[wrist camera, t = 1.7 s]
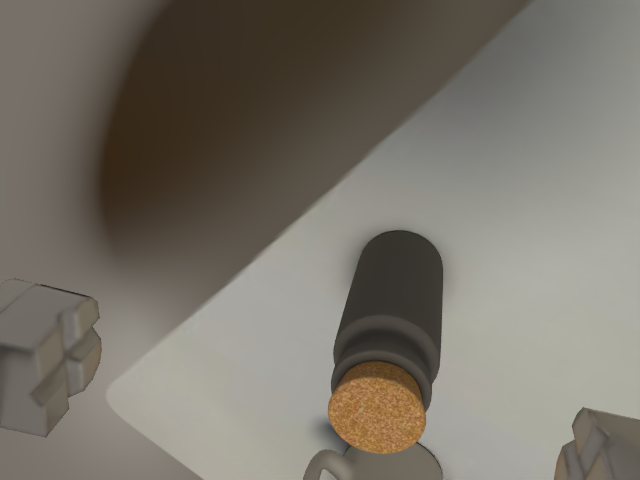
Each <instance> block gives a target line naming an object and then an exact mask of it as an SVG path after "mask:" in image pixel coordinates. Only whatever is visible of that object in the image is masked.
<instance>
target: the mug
mask: <svg viewBox="0 0 640 480" xmlns="http://www.w3.org/2000/svg"><path fill="white" fill-rule="evenodd" d="M323 469H326V470H327V471H329V472H330V473H331V474H332V475H334V476H335V478H336V479H337V480H443V479H442V473H441V469H440V467H439V464H438V463H437V461H436V459H435V458H434V457H433V456H432V455H431V454H430V453H429V452H428V451H427V450H426V449H425V448H423V447H422V446H421V445H419V444H417V443H414V444H413V445H412V446H410V447H409V448H407V449H405V450H402V451H399V452H395V453H388V454H378V453H371V452H366V451H363V450H361V449H358V448H356V447H354V446H351V447H350V448H349V449H348V450H347V451H346V453H345V454H344V456H342V455H340V454H339V453H337V452H335V451H333V450H326V449H325V450H322V451H320V452H318V453H317V454H316V455H315V456H314V457H313V458H312V460H311V461H310V463H309V465H308V467H307V469H306V471H305V474H304V477H303V480H319V478H320V474H321V471H322V470H323Z"/></svg>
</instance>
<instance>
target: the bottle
mask: <svg viewBox="0 0 640 480" xmlns="http://www.w3.org/2000/svg"><path fill="white" fill-rule="evenodd" d="M442 295H443V266H442V261H441V258H440V256H439V254H438V252H437V250H436V249H435V248H434V246H433V245H432V244H431V243H430V242H429V241H427V240H426V239H424V238H423V237H421V236H419V235H417V234H414V233H410V232H405V231H393V232H388V233H384V234H382V235H380V236H378V237H376V238H374V239H373V240H372V241H370V242H369V244H368V245H367V246H366V247H365V249H364V250H363V252H362V254H361V256H360V259H359V262H358V265H357V268H356V272H355V275H354V278H353V281H352V285H351V288H350V291H349V295H348V298H347V301H346V305H345V308H344V312H343V315H342V319H341V322H340V326H339V329H338V333H337V336H336V340H335V345H334V352H333V355H334V363H335V368H334V371H333V375H332V380H331V391H332V396H331V398H330V401H329V404H328V415H329V419H330V422H331V425H332V426H333V428H334V430H335V431H336V432H337V434H338V435H339V436H340V437H341V438H342V439H343V440H345V441H346V442H347V443H349V444H350V445H352V446H354V447H356V448H358V449H361V450H363V451H366V452H371V453H378V454H388V453H395V452H399V451H402V450H405V449H407V448H409V447H410V446H412V445H413V444H414V443H416V442H417V441H418V439H419V438H420V437H421V435H422V434H423V432H424V430H425V425H426V414H425V413H426V411H427V410H428V408H429V405H430V402H431V396H432V383H433V382H434V380H435V378H436V376H437V374H438V370H439V366H440V352H441V328H442Z"/></svg>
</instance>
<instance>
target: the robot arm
mask: <svg viewBox="0 0 640 480" xmlns="http://www.w3.org/2000/svg"><path fill="white" fill-rule="evenodd" d="M99 318H100V316H99V307H98V302H97V301H96V300H95V299H94V298H93V297H90V296H86V295H82V294H78V293H74V292H70V291H66V290H62V289H58V288H54V287H50V286H46V285H42V284H41V285H39V284H36V283H32V282H28V281H24V280H20V279H8V280H5V281H4V282H3V283H1V284H0V427H1V428H5V429H10V430H15V431H19V432H23V433H28V434H32V435H37V436H41V437H47V436H48V434H49V433H50V432H51V431H52V430H53V428H54V427H55V426H56V425H57V423H58V422H59V421H60V420H61V418H62V417H63V416H64V415H65V414H66V412H67V411H68V410H69V402H68V398H69V397H71V396H73V395H76V394H78V393H80V392H82V391H84V390H85V388H86V387H87V386H88V385H89V383H90V382H91V381H92V380H93V378H94V375H95V373H96V371H97V368H98V366H99V363H100V358H101V351H102V348H101V338H100V337H99V336H98V334H97V332H96V331H95V330H94V328H93V327H92V326H93V325H94V324H95V323H96V322H97V320H98V319H99ZM572 428H573V433H574V438H575V440H573V441H571V442H569V443H567V444H566V445H564V446H563V447H562V450H561V452H560V455H559V457H558V460H557V464H556V470H555V476H554V480H640V420H639V419H635V418H630V417H625V416H621V415H616V414H612V413H607V412H603V411H598V410H593V409H589V408H584V407H583V408H582V409H581V410H580V411H579V412H578V413H577V415H576V417H575V420H574V422H573V424H572Z"/></svg>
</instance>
